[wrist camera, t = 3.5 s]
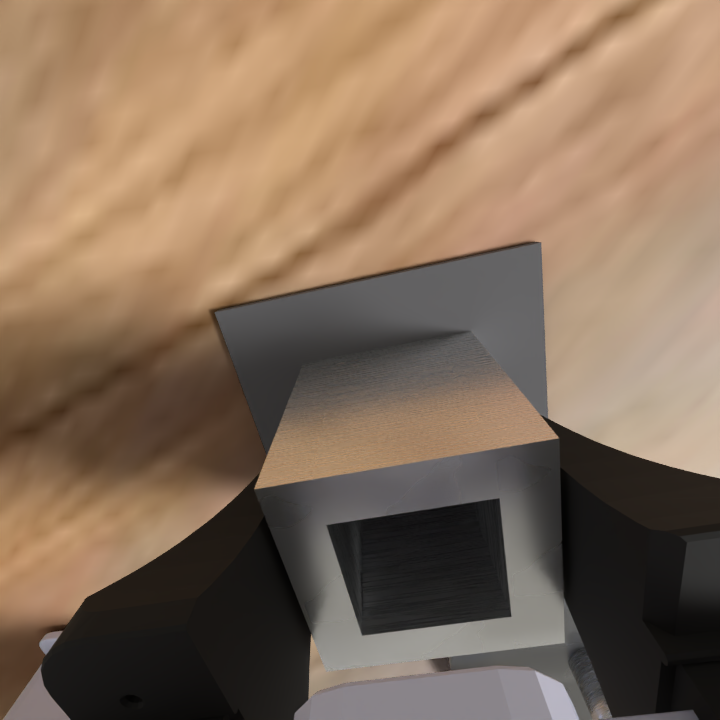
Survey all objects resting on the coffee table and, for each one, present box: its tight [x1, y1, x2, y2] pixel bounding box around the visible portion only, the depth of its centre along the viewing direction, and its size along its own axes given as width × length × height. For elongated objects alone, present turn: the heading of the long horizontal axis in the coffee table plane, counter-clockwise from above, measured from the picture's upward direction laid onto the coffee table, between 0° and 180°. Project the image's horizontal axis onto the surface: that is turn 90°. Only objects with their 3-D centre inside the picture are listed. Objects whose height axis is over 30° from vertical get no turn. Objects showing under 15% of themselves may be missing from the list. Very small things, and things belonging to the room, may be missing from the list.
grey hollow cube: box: [254, 331, 565, 672], centre depth 11 cm, size 6×6×6 cm
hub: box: [448, 599, 612, 720], centre depth 16 cm, size 12×12×5 cm
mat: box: [215, 242, 548, 455], centre depth 14 cm, size 10×10×1 cm
